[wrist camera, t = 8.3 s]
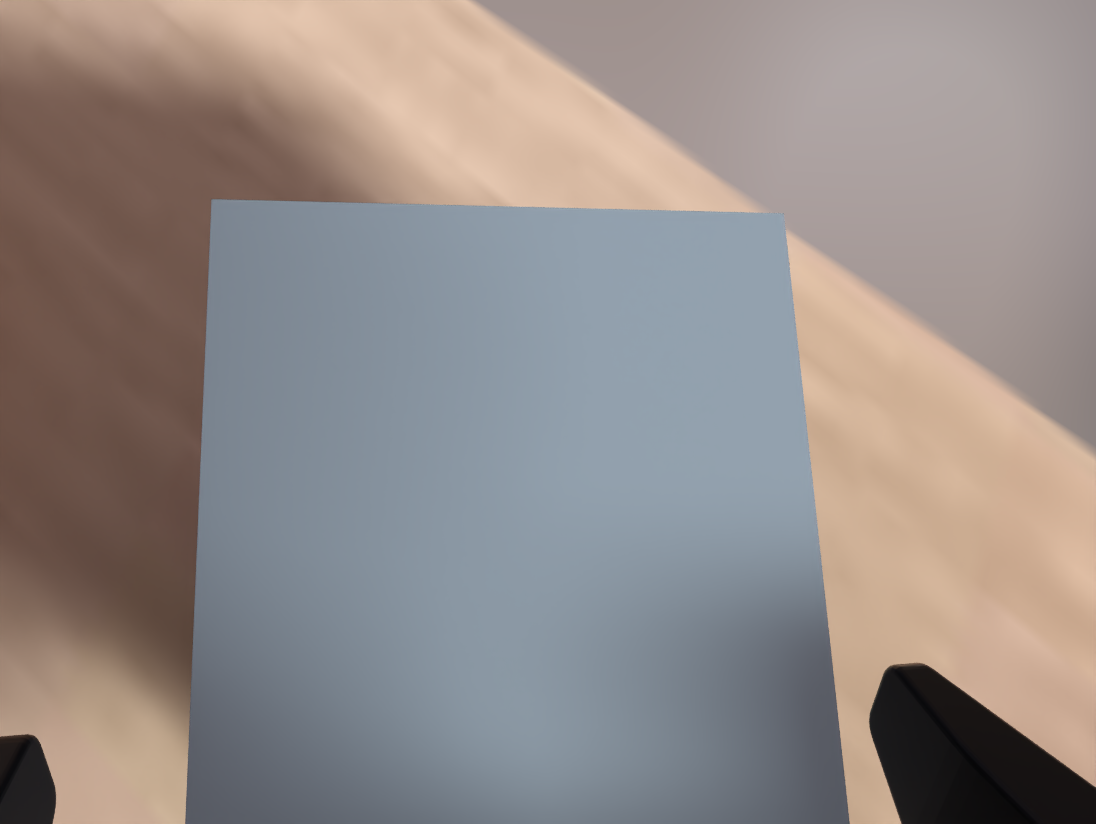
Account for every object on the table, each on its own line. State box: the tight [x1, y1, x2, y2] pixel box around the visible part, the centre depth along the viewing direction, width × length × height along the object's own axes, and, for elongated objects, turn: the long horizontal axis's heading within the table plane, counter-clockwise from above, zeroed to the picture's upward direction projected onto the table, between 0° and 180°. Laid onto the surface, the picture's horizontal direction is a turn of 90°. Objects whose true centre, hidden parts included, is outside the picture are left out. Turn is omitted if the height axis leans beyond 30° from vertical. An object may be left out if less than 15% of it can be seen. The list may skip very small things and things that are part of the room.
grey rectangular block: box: [185, 199, 850, 824], centre depth 13 cm, size 8×6×10 cm
